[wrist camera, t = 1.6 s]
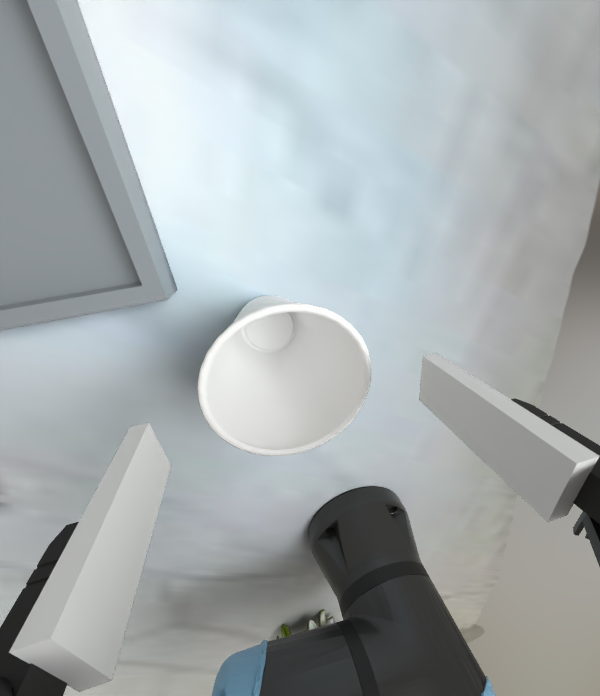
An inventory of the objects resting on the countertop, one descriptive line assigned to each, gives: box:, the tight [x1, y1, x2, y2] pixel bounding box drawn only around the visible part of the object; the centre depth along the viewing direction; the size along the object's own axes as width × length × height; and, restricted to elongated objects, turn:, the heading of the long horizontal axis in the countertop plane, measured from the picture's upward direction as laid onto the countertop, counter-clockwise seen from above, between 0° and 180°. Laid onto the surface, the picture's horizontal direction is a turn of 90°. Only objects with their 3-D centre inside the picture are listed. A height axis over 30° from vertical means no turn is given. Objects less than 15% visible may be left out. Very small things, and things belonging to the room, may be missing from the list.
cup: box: [197, 295, 371, 456], centre depth 19 cm, size 10×10×11 cm
